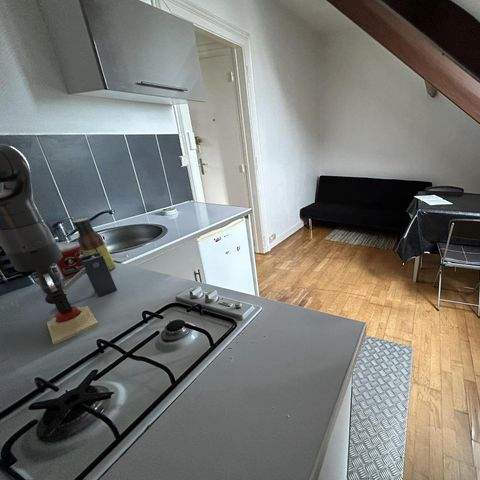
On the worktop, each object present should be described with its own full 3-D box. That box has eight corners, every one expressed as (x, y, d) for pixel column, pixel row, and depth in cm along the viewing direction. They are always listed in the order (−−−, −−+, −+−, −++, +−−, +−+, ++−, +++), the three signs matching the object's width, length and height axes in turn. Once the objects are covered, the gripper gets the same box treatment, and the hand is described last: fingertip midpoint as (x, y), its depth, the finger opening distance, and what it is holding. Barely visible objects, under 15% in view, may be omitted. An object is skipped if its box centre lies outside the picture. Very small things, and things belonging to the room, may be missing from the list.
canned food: (63, 283, 86) (48, 253, 81) (64, 275, 91) (50, 246, 87) (93, 274, 90) (80, 246, 86) (92, 267, 96) (80, 239, 92)
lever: (55, 308, 68) (41, 302, 66) (53, 303, 70) (40, 298, 68) (104, 263, 74) (93, 256, 72) (101, 260, 76) (91, 253, 74)
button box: (50, 329, 65) (43, 316, 63) (90, 312, 70) (84, 299, 69) (57, 349, 58) (48, 335, 56) (101, 329, 63) (94, 316, 62)
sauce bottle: (115, 267, 95) (94, 215, 87) (118, 272, 91) (96, 218, 83) (93, 274, 91) (68, 220, 83) (95, 280, 87) (69, 223, 79)
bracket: (88, 310, 71) (67, 269, 66) (81, 298, 77) (62, 260, 72) (133, 291, 79) (118, 253, 74) (124, 282, 84) (110, 246, 79)
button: (56, 318, 62) (53, 312, 62) (78, 310, 65) (75, 304, 65) (59, 325, 60) (56, 319, 59) (81, 316, 63) (78, 310, 62)
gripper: (3, 243, 57) (41, 308, 63) (4, 258, 49) (48, 331, 55) (50, 233, 62) (80, 294, 69) (58, 245, 54) (92, 313, 60)
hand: (66, 310), depth 62 cm, fingers closed
